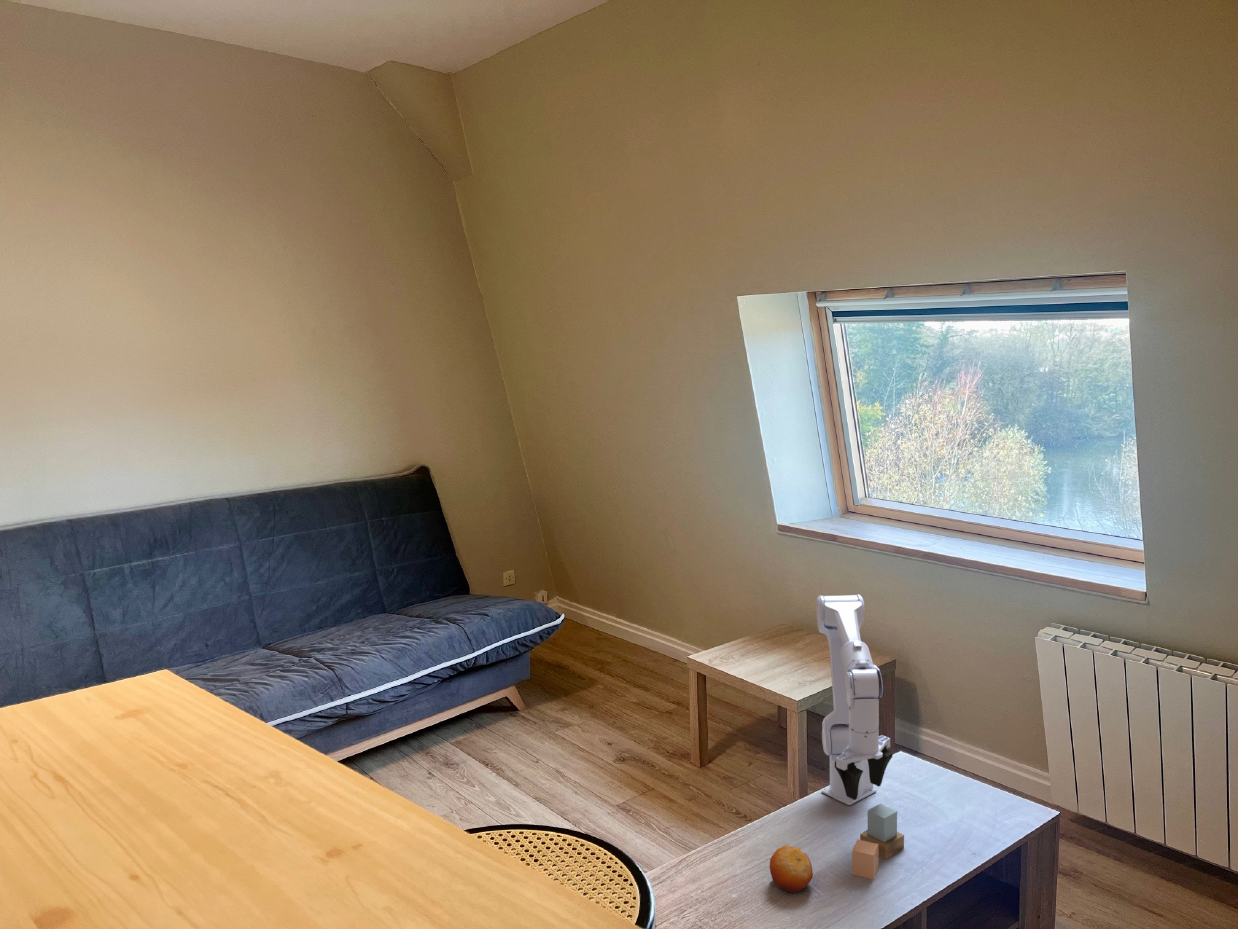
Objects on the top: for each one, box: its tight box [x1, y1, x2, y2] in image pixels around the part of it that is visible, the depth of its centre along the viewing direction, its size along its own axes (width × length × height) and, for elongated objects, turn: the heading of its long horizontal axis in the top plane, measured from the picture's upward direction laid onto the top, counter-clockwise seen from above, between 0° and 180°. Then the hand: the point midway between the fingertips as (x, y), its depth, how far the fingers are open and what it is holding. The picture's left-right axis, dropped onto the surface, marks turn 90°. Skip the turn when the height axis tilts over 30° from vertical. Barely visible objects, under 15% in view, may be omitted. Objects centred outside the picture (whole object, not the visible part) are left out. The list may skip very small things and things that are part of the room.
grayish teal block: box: [867, 803, 898, 842], centre depth 181 cm, size 4×4×5 cm
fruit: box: [769, 845, 814, 894], centre depth 171 cm, size 8×8×8 cm
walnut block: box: [859, 829, 905, 860], centre depth 182 cm, size 6×6×3 cm
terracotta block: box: [851, 839, 879, 881], centre depth 174 cm, size 4×4×5 cm
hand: (863, 790), depth 184 cm, fingers open, 7 cm apart
